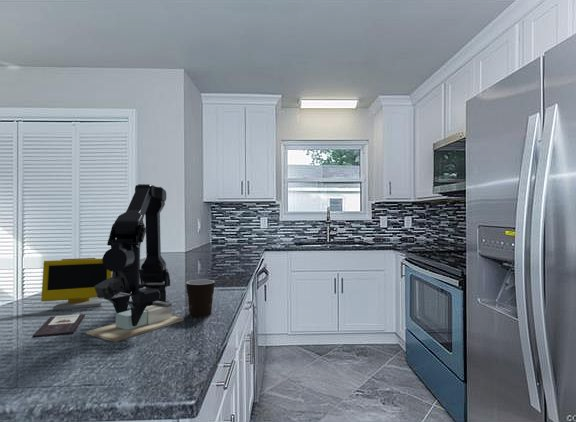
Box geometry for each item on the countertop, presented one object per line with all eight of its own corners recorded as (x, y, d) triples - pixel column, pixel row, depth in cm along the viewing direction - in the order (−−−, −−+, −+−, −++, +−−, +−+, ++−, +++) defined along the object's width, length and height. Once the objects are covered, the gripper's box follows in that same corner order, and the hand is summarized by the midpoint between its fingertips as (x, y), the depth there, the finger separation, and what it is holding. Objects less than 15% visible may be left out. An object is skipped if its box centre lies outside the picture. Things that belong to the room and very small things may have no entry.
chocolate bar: (32, 335, 94) (50, 316, 111) (32, 339, 94) (50, 320, 111) (73, 331, 98) (84, 314, 114) (73, 335, 97) (84, 317, 114)
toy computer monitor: (41, 311, 119) (41, 261, 119) (45, 306, 126) (45, 258, 126) (111, 305, 127) (111, 258, 127) (111, 300, 134) (111, 256, 134)
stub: (115, 326, 101) (115, 313, 101) (135, 321, 106) (135, 308, 106) (127, 329, 98) (127, 316, 98) (146, 324, 103) (146, 311, 103)
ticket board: (85, 333, 98) (86, 314, 98) (155, 314, 116) (155, 298, 116) (114, 342, 91) (114, 321, 91) (183, 320, 110) (183, 303, 110)
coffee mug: (207, 319, 111) (208, 285, 111) (180, 317, 113) (180, 283, 113) (222, 309, 123) (222, 278, 123) (197, 308, 124) (197, 277, 124)
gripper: (78, 266, 99) (78, 326, 99) (123, 273, 90) (123, 339, 90) (117, 262, 109) (116, 316, 109) (161, 267, 99) (161, 327, 99)
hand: (128, 324), depth 101 cm, fingers closed on stub, 5 cm apart
